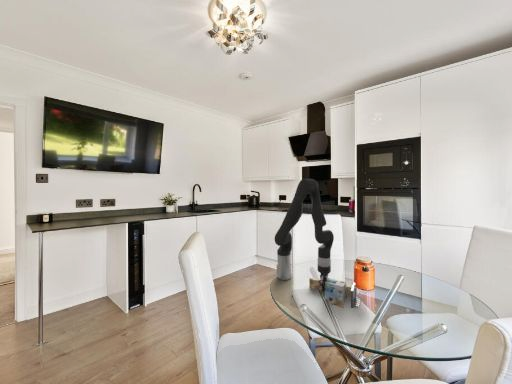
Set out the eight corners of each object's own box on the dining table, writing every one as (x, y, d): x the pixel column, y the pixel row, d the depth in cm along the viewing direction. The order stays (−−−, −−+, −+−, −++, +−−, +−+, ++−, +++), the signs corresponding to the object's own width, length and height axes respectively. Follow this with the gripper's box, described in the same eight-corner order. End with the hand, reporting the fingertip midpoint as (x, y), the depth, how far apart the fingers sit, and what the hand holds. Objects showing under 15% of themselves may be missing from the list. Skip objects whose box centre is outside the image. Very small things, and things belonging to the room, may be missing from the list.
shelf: (303, 297, 147) (303, 288, 146) (310, 286, 159) (310, 277, 158) (353, 309, 133) (353, 299, 132) (356, 296, 145) (356, 287, 145)
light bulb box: (324, 299, 144) (324, 282, 142) (327, 294, 149) (327, 277, 148) (343, 304, 138) (343, 286, 137) (345, 298, 144) (346, 281, 142)
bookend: (350, 307, 135) (350, 290, 134) (353, 298, 144) (353, 282, 143) (358, 309, 133) (358, 292, 132) (360, 300, 142) (360, 283, 141)
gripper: (320, 258, 152) (320, 284, 154) (314, 266, 140) (314, 295, 143) (333, 260, 148) (332, 287, 151) (327, 269, 137) (327, 298, 139)
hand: (323, 291), depth 147 cm, fingers closed
